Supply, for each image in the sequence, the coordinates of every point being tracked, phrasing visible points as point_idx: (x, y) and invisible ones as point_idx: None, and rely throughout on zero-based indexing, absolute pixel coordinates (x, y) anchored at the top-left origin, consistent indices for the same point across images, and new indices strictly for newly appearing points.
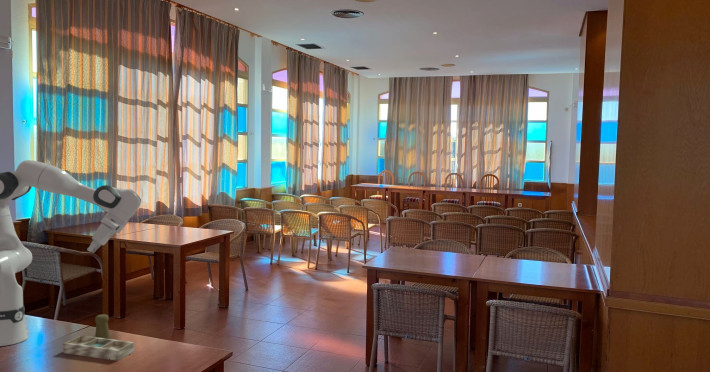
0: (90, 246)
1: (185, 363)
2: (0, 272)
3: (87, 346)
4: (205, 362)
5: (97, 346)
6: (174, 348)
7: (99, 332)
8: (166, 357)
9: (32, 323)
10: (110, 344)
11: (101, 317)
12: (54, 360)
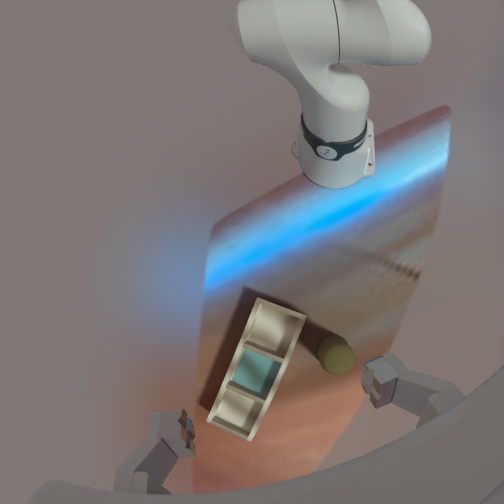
0: (147, 444)
1: None
2: (247, 55)
3: (233, 357)
4: None
5: (260, 368)
6: None
7: (320, 353)
8: (224, 481)
9: (420, 157)
10: (250, 397)
11: (323, 363)
12: (224, 298)
